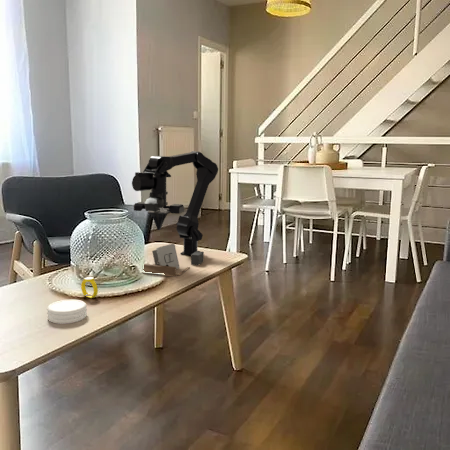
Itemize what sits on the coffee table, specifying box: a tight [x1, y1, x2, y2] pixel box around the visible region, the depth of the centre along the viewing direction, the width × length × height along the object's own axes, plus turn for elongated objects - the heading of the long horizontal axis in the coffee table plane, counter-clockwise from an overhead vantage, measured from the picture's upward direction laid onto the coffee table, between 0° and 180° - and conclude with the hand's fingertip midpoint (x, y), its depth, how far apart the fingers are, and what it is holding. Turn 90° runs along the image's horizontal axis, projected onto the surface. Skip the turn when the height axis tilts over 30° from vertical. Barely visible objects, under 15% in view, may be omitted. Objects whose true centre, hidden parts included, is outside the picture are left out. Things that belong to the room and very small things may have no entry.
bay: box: [142, 263, 191, 277], centre depth 175 cm, size 12×14×3 cm
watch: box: [80, 276, 99, 299], centre depth 145 cm, size 6×3×6 cm, turn 55°
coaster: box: [46, 299, 88, 325], centre depth 129 cm, size 10×10×4 cm
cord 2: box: [190, 250, 205, 266], centre depth 186 cm, size 6×3×4 cm, turn 164°
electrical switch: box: [151, 243, 180, 270], centre depth 175 cm, size 9×5×9 cm, turn 146°
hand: (158, 229), depth 187 cm, fingers closed
